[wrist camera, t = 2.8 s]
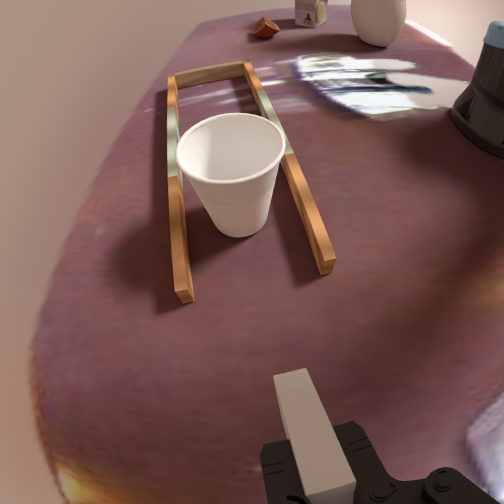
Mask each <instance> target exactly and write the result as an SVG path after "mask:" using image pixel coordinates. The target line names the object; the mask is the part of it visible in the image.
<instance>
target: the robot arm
mask: <svg viewBox="0 0 504 504" xmlns="http://www.w3.org/2000/svg"><path fill="white" fill-rule="evenodd" d="M483 41H484V45H483V48H482V51H481V54H480V58H479V60H478V63H477V66H476V69H475V72H474V75H473V78H472V81H471V83H470V85H469V86H468V87H467V88H466V89H465V91H464V92H463V93H462V94H461V95H460V96H459V97H458V98H457V99H456V101H455V102H454V104H453V107H452V110H451V118H452V120H453V122H454V124H455V125H456V126H457V128H458V129H459V130H460V131H461V132H462V133H463V134H464V135H465V136H466V137H467V138H468V139H469V140H471V141H472V142H473V143H474V144H476V145H477V146H479V147H480V148H482V149H484V150H485V151H487V152H489V153H491V154H493V155H496V156H499V157H504V22H501V21H493V22H491V23H490V25H489V27H488V30H487V33H486V37H484V39H483ZM273 378H274V383H275V388H276V393H277V398H278V403H279V408H280V413H281V418H282V422H283V425H284V429H285V433H286V437H287V440H283V441H279V442H274V443H269V444H264V445H263V448H262V451H261V454H260V459H261V465H262V470H263V476H264V482H265V488H266V494H267V500H268V504H500V503H499V502H497V501H496V500H495V499H493V498H492V497H491V496H489V495H488V494H487V493H486V492H484V491H483V490H482V489H480V488H479V487H478V486H476V485H475V484H474V483H472V482H471V481H470V480H469V479H467V478H466V477H465V476H463V475H462V474H461V473H460V472H458V471H457V470H455V469H453V468H447V467H444V468H439V469H436V470H435V471H433V472H431V473H430V474H429V476H428V477H427V478H425V479H419V480H413V481H399V480H396V479H394V478H392V477H391V476H390V475H389V474H388V473H387V472H386V470H385V468H384V466H383V464H382V463H381V461H380V459H379V457H378V455H377V453H376V452H375V450H374V448H373V446H372V444H371V442H370V441H369V439H368V437H367V435H366V433H365V431H364V430H363V428H362V427H361V426H359V425H358V424H357V423H355V422H354V421H351V422H348V423H344V424H341V425H338V426H335V427H332V425H331V423H330V421H329V419H328V416H327V414H326V412H325V410H324V407H323V405H322V403H321V401H320V398H319V396H318V394H317V392H316V389H315V387H314V385H313V383H312V380H311V378H310V376H309V374H308V371H307V369H306V368H303V369H299V370H295V371H291V372H287V373H282V374H278V375H274V376H273Z"/></svg>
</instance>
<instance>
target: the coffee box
mask: <svg viewBox="0 0 504 504" xmlns="http://www.w3.org/2000/svg"><path fill="white" fill-rule="evenodd" d="M327 1H328V0H295V24H296V25H301V26H306V27H312V28H316V27H318V26H320V25H322V24H323V23H325V22H327Z"/></svg>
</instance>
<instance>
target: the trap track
mask: <svg viewBox="0 0 504 504" xmlns="http://www.w3.org/2000/svg"><path fill="white" fill-rule="evenodd" d="M242 76H245V77H246V80H247V82H248V84H249V87H250V89H251V91H252V94H253V96H254V98H255V101H256V103H257V106H258V108H259V110H260V113H261V115H262V117H263V118H265V119H267V120H269V121H271V122H273V123H274V124H275V125H276V126H278V128H279V129H280V130H281V131H282V133H283V135H284V138H285V144H286V147H285V152H284V155H283V156H282V158H281V160H280V163H281V165H282V168H283V171H284V173H285V176H286V179H287V181H288V184H289V186H290V189H291V192H292V195H293V197H294V200H295V203H296V205H297V208H298V211H299V214H300V217H301V219H302V222H303V225H304V228H305V231H306V233H307V236H308V239H309V242H310V245H311V248H312V251H313V254H314V257H315V260H316V263H317V266H318V269H319V272H320V275H323V274H328V273H332V270H333V267H334V264H335V261H336V256H335V253H334V250H333V248H332V245H331V242H330V240H329V237H328V235H327V232H326V229H325V227H324V224H323V222H322V219H321V217H320V214H319V212H318V209H317V207H316V204H315V202H314V199H313V197H312V195H311V192H310V190H309V187H308V185H307V183H306V180H305V178H304V176H303V173H302V171H301V169H300V166H299V164H298V162H297V159H296V157H295V155H294V153H293V150H292V148H291V146H290V144H289V141H288V139H287V137H286V135H285V133H284V130H283V128H282V126H281V124H280V122H279V120H278V118H277V115H276V113H275V111H274V109H273V107H272V105H271V103H270V101H269V99H268V97H267V95H266V93H265V91H264V89H263V87H262V85H261V83H260V81H259V79H258V77H257V75H256V73H255V71H254V69H253V67H252V65H251V63H250V61H249V60H243V61H236V62H229V63H223V64H217V65H212V66H206V67H201V68H196V69H191V70H187V71H182V72H178V73H173V74H169V75H168V100H167V162H168V196H169V218H170V235H171V250H172V263H173V275H174V286H175V292H176V294H177V295H178V297H179V298H180V300H181V301H182V303H183V304H184V303H189V302H195V301H194V293H193V285H192V276H191V268H190V259H189V250H188V240H187V230H186V220H185V208H184V197H183V184H182V171H181V170H180V168H179V167H178V166H177V163H176V160H175V150H176V146H177V144H178V142H179V140H180V137H179V116H178V88H183V87H187V86H192V85H197V84H202V83H207V82H212V81H217V80H223V79H229V78H235V77H242Z"/></svg>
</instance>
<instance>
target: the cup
mask: <svg viewBox="0 0 504 504" xmlns="http://www.w3.org/2000/svg"><path fill="white" fill-rule="evenodd" d="M285 147H286V144H285V138H284V135H283V133H282V131H281V130H280V129H279V128H278V126H276V125H275V124H274V123H273V122H271V121H269V120H267V119H265V118H263V117H260V116H257V115H253V114H247V113H228V114H222V115H217V116H214V117H210V118H208V119H205V120H203V121H201V122H199V123H197V124H196V125H194V126H192V127H191V128H190V129H189V130H187V131H186V132H185V133H184V135H183V136H182V137H181V138H180V140H179V142H178V144H177V146H176V150H175V160H176V163H177V166H178V167H179V168H180V170H181V171H182V172H183V173H184V174H185V175H186V176H187V178H188V180H189V182H190V183H191V185H192V187H193V188H194V190H195V191H196V193H197V195H198V197H199V198H200V200H201V202H202V204H203V205H204V207H205V209H206V210H207V212H208V214H209V215H210V217H211V219H212V221H213V223H214V224H215V226H216V227H217V229H218V230H219V231H221V232H222V233H224V234H225V235H228V236H231V237H246V236H249V235H252V234H254V233H256V232H257V231H259V230H260V229H261V228H262V227H263V225H264V224H265V222H266V220H267V216H268V211H269V207H270V202H271V198H272V193H273V189H274V185H275V180H276V176H277V172H278V167H279V163H280V160H281V158H282V156H283V155H284V152H285Z"/></svg>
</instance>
